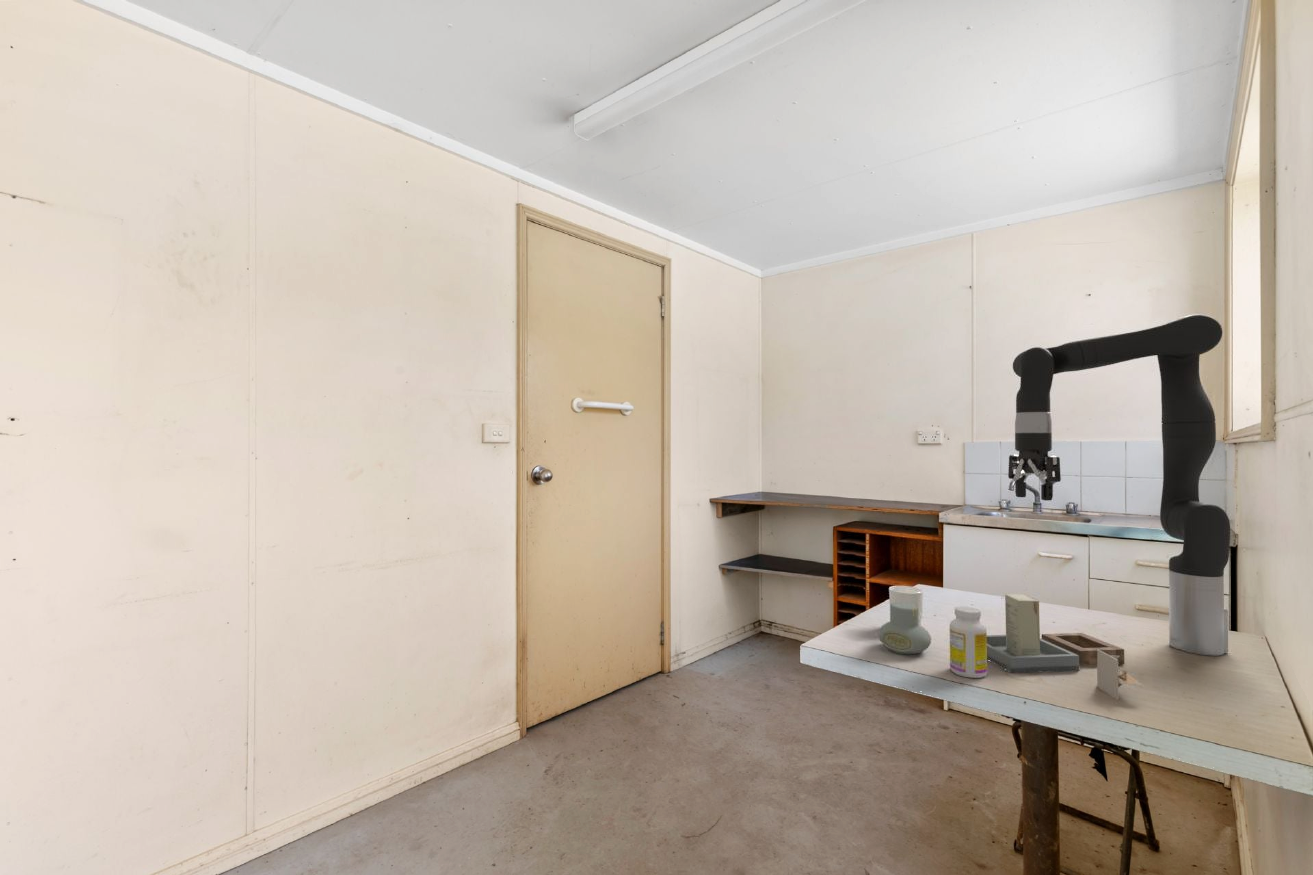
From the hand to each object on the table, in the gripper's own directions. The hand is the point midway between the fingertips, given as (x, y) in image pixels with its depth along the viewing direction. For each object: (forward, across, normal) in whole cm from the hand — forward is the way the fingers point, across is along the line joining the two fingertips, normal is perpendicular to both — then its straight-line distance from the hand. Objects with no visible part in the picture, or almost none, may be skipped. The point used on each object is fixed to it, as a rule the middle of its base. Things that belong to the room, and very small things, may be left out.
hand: (1033, 498), depth 144 cm
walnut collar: (+33, -13, -1) cm, 36 cm away
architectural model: (+34, -32, +9) cm, 47 cm away
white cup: (+33, +8, +28) cm, 44 cm away
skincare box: (+32, -14, +13) cm, 38 cm away
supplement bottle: (+33, -20, +30) cm, 49 cm away
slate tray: (+33, -14, +14) cm, 39 cm away
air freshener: (+33, -6, +36) cm, 49 cm away
